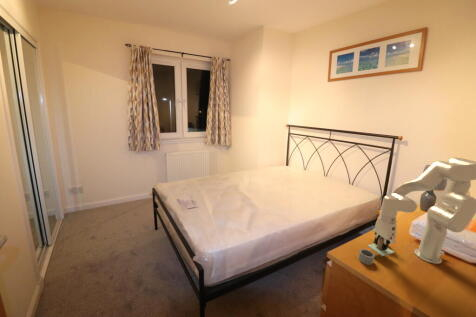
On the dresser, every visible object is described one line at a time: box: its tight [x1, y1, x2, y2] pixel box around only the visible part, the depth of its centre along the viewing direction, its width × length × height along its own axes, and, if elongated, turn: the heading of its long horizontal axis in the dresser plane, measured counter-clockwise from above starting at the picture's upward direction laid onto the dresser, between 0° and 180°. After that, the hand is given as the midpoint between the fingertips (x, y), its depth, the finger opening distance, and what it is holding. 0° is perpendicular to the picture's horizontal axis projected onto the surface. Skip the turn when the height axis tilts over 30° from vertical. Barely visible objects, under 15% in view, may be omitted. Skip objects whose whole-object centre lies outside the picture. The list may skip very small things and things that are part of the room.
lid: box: [366, 237, 395, 257], centre depth 129 cm, size 10×10×7 cm
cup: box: [357, 248, 376, 266], centre depth 124 cm, size 7×7×4 cm
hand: (380, 246), depth 129 cm, fingers closed on lid, 4 cm apart
